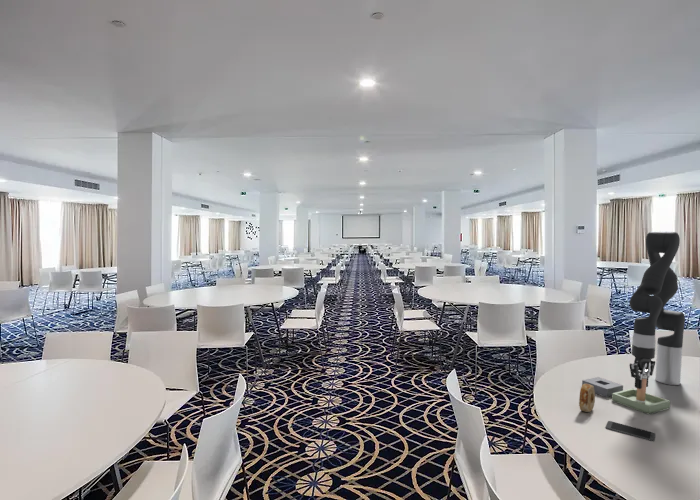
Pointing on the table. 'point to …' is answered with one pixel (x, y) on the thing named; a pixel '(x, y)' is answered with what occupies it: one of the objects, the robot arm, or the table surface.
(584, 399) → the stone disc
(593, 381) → the grey flat square piece
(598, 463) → the table surface
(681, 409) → the table surface
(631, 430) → the cell phone
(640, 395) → the peg
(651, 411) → the parts tray
